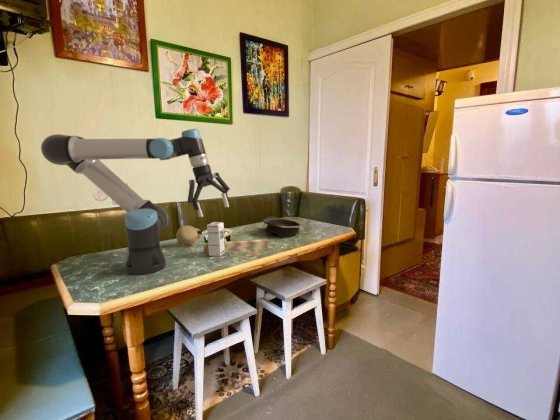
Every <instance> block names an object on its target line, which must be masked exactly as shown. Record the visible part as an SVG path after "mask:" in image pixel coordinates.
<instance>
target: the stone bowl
mask: <svg viewBox="0 0 560 420" xmlns="http://www.w3.org/2000/svg"><path fill="white" fill-rule="evenodd" d="M261 221H263V222H262V223H264V224H265V225H266V228H265V232H266V234H268V235H273V234H274V235H276V236H277V237H278V238H279V237H280V238H285V237H287V238H288V237H291V236H296V235H297V233H298V232H299V230H300V228H302V227H304V226H306V223H305V222H302V221H300V220H297V219H294V218H293V219H292V218H284V217H283V218H282V217H281V218H279V217H276V216H273V215H270V216H267V217H265V218H264V219H263V218H262V219H261Z"/></svg>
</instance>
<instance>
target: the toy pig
mask: <svg viewBox="0 0 560 420" xmlns="http://www.w3.org/2000/svg"><path fill="white" fill-rule="evenodd" d="M175 236H176V241H177V243H178V244H179V245H180V246H181V247H185V246H186V247H194V245H195V243H196V242H197V241H198V240H199V239H200V238H201V237H202V231H201V229H199V228H197V227H194V226H192V225H183V226H180V228H178V229H177V231H176V234H175Z"/></svg>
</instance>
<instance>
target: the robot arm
mask: <svg viewBox="0 0 560 420" xmlns="http://www.w3.org/2000/svg"><path fill="white" fill-rule="evenodd" d="M40 150H41V153H42V155H43V157H44V158H45V159H46V160H47V161H48V162H50V163H52V164H54V165H57V166H67V167H68V168H70V169H71V170H72V171H73V172H74V173H75V174H81V175H84V176H85V178H87V179H88V180H90V182H91V183H92V184H94V185H95V186H96V187H97V188H98V189H99V190H100V191H102V192H103V193H104V194H105V195H106V196H108V198H110V199H111V200H112V201H113V202H114V203H115V204H117V205H118V206H119V207H120V208H121V209H123V210H124V212H126V213H127V214H125V217H124V218H125V220H124V225H125V232H126V240H127V241H126V242H127V249H128V254H127V257H126V261H125V267H124V268H125V272H126V273H127V274H128V275H133V276H134V275H135V276H137V275H138V276H139V275H150V274H152V273H153V274H154V273H157V272H159V271H161V270H163V269H165V268H166V267H167V260H166V258H165V255H164V253H163V251H162V249H161V245H160V244H161V243H160V234H161V233H162V232H163V231H164V230H165V229H166V228H167V226H168V223H169V215H168V213H167V211H166V210H165V209H164V208H162V207H161V206H159V205H155V203H153V202H152V201H151V200H150V199H144V198H142V197H141V196H140V195H139V194H138V193H136V192H135V191H134V189H132V188H131V187H130V186H129V185H128V184H127V183H126V182H125V181H124V180H122V179H121V178H120V177H119V176H118V175H117V174H116V173H115V172H114V171H112V170H111V169H110V168H109V167H108V166H107V165H105V164H104V163H103V162H102V161H101V160H136V159H137V160H139V159H147V160H148V159H152V160H153V159H154V160H155V159H159V160H160V161H167V160H170V159H175V158H177V157H182V156H185V155H187V156H188V159H189V162H190V166H191V168H192V173H193V175H194V178H195V179H189V180H188V184H189V188H188V195H187V203H189V204H192V206H193V209H194V210H195V211H197V215H198V217H199V218H203V217H204V214H203V211H202V207H201V205H200V202H199V197H200V194H201V192H202V189H203V188H205V187H208V186H212V187H214V188H215V189H217V190H218V191H220V192H221V193H220V194H221V198H222V202H223V205H224V208H229V207H230V204H229V201H228V200H229V196H228V192H229V191H230V190H231V188H230V187H229V186H228V185H227V183H226V182H225V181H224V180H223V179H222V177H221V176H220V173H219V172H214V173H212V169H211V165H210V164H209V159H208V155H207V153H206V149H205V145H204V142H203V138H202V136H201V133H200V130H199V129H197V128H190V129H186V130H183V131H182V132H181V136H180V137H177V138H173V139H172V138H171V139H167V138H165V137H157V138H84V137H82V136H79V135H67V134H56V133H55V134H52V135H48V136H47V137H46V138H45V139H43V141H42V142H41V145H40ZM214 179H215V180H216V181H217V182H218V183H217V182H216V181H215V180H214ZM196 184H197V186H196V190H195V185H196Z"/></svg>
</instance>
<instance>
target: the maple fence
mask: <svg viewBox="0 0 560 420" xmlns="http://www.w3.org/2000/svg"><path fill="white" fill-rule="evenodd" d="M256 250H257V251H258V250H260V251H261V250H269V240H268V239H267V238H266V239H253V240H251V239H250V240H235V241H225V253H229V252H243V251H244V252H245V251H256ZM203 252H204V254H209V247H208V242H204V243H203ZM245 256H246V258H247V257H260V253H251V254H249V253H248V254H246V255H245ZM224 257H225V256H223V255H221V256H210V257H209V260H221V259H225V258H224Z"/></svg>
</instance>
